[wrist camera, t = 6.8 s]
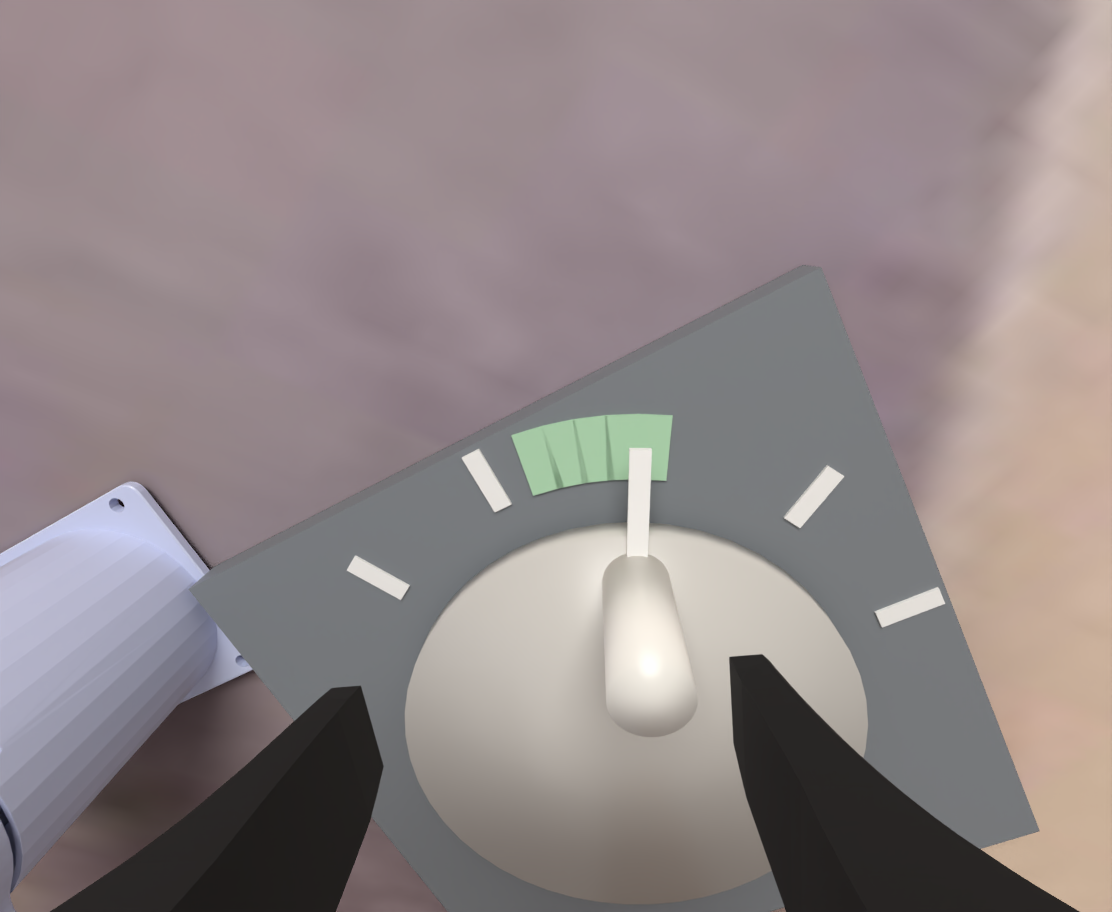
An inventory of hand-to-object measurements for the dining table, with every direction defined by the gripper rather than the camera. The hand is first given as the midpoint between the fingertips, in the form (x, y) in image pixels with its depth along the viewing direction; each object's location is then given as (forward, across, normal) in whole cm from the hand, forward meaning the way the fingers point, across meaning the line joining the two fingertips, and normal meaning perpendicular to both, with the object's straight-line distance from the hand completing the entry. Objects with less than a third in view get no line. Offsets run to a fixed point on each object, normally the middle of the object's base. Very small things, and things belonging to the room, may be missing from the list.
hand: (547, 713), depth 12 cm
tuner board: (+9, -1, +7) cm, 12 cm away
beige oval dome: (+7, -2, +6) cm, 10 cm away
